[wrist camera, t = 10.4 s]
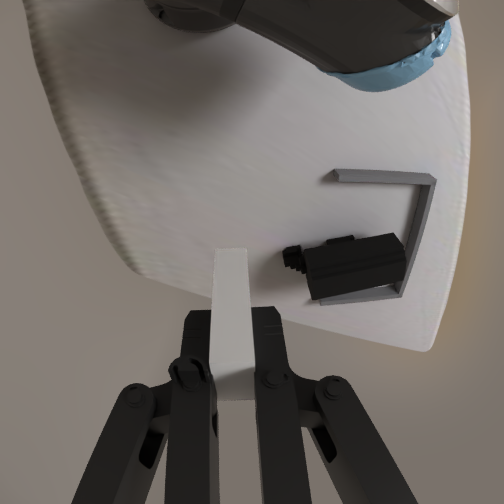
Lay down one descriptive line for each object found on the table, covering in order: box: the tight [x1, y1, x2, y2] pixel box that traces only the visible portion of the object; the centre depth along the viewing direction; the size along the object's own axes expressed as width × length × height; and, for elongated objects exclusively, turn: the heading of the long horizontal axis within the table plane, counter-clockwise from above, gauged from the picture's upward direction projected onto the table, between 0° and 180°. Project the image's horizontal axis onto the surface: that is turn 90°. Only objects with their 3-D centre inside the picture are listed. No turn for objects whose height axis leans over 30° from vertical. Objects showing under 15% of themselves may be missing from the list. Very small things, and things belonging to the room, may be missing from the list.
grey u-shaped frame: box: [319, 169, 437, 306], centre depth 50 cm, size 25×17×2 cm
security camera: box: [282, 233, 407, 300], centre depth 47 cm, size 7×18×10 cm, turn 101°
